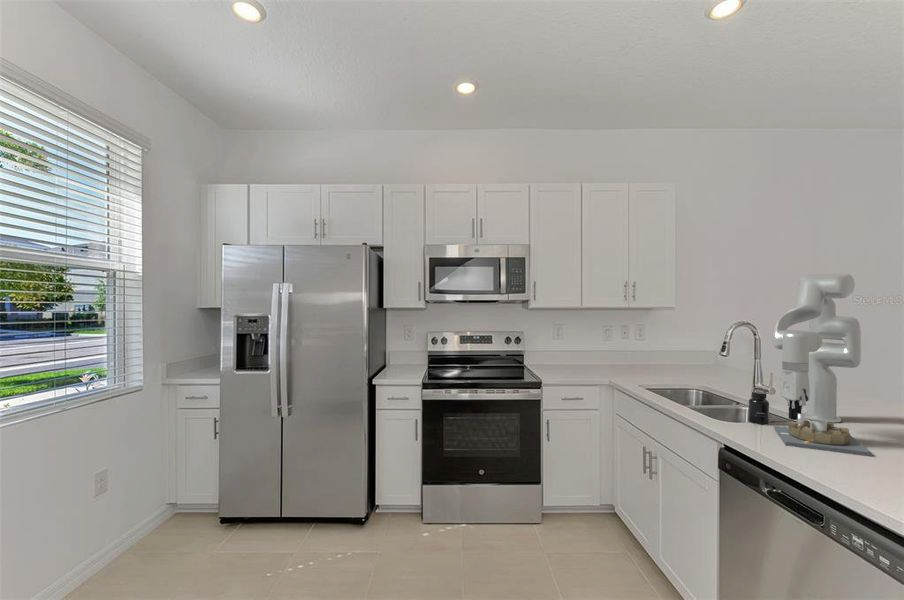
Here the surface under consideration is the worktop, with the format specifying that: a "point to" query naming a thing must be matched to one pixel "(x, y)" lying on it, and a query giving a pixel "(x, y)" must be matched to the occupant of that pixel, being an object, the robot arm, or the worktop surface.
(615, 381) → the worktop surface
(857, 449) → the nut base
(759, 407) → the supplement bottle
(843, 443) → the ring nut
